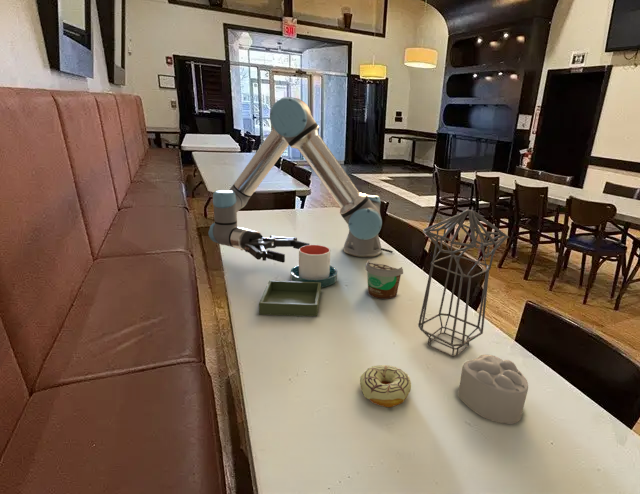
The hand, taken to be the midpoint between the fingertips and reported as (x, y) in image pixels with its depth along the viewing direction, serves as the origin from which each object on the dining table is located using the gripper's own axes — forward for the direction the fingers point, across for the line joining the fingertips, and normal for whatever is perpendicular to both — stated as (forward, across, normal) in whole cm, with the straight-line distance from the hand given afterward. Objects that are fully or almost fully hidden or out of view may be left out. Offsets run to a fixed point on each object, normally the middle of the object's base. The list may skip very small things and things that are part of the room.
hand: (297, 252), depth 137 cm
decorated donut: (+52, +40, -8) cm, 67 cm away
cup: (+7, 0, -8) cm, 10 cm away
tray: (+12, +18, -8) cm, 23 cm away
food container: (+31, -1, -8) cm, 32 cm away
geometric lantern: (+58, +15, -8) cm, 61 cm away
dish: (+7, 0, -8) cm, 10 cm away
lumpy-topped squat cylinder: (+73, +32, -8) cm, 80 cm away
